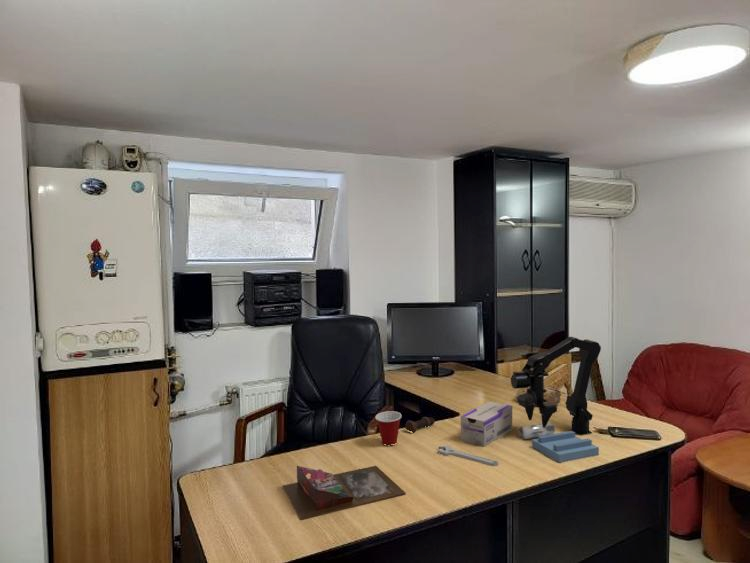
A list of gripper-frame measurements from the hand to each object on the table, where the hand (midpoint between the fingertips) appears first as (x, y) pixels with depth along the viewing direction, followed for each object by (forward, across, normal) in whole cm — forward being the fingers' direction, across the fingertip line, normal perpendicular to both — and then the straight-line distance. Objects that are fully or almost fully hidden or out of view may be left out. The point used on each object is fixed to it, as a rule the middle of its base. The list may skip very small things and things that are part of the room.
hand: (536, 423), depth 209 cm
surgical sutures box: (+6, -9, -18) cm, 21 cm away
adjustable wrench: (+6, +8, -38) cm, 40 cm away
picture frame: (+6, +16, -89) cm, 90 cm away
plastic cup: (+6, -16, -60) cm, 62 cm away
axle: (+6, 0, 0) cm, 6 cm away
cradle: (+5, +17, 0) cm, 18 cm away
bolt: (+6, -27, -40) cm, 49 cm away
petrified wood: (+6, -36, +28) cm, 46 cm away
